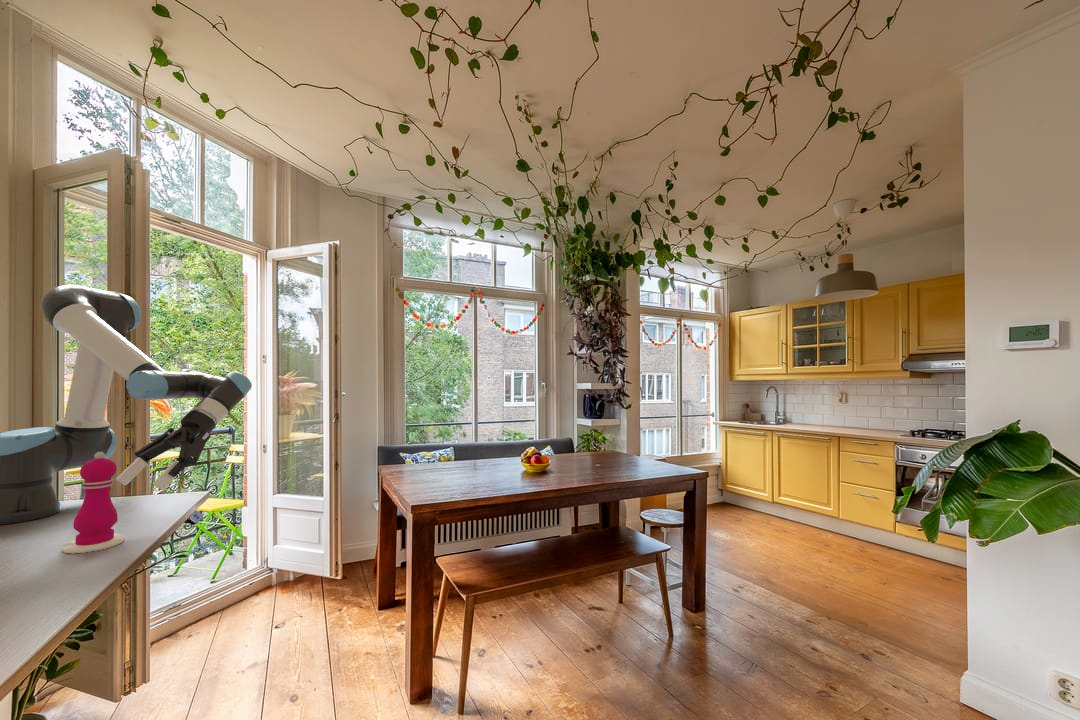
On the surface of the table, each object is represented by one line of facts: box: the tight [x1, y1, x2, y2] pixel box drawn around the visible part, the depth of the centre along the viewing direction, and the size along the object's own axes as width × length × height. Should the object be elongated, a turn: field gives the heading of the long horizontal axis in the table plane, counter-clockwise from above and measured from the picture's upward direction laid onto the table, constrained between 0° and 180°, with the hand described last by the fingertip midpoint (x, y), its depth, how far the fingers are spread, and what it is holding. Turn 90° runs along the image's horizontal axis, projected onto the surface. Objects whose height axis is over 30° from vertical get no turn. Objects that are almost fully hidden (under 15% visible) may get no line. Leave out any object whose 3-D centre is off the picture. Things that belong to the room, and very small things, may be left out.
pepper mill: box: [72, 452, 119, 546], centre depth 103 cm, size 7×7×20 cm
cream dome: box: [61, 532, 125, 555], centre depth 103 cm, size 10×10×1 cm
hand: (138, 484), depth 111 cm, fingers open, 13 cm apart
